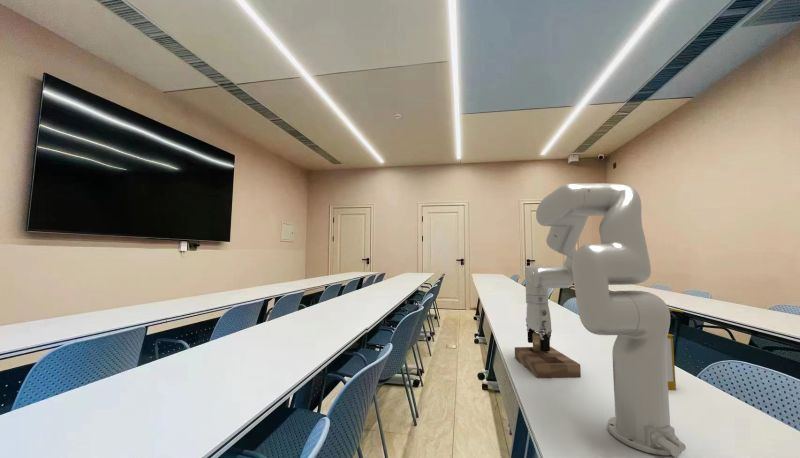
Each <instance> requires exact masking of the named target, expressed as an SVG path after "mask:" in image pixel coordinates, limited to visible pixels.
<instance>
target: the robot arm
mask: <svg viewBox="0 0 800 458" xmlns="http://www.w3.org/2000/svg"><path fill="white" fill-rule="evenodd" d="M594 216H595V217H600V216H603V217H602V219H601V221H600V224H599V228H598V231H599V237H600V243H588V244H583V245H582V246H580V247H578V248H577V249H576V245H577V244H578V242H579V239H580V238H581V237H580V236H581V234H582V232H583V230H584V227H585V226H586V223H587V220H588V218H589V217H594ZM535 217H536V218H535V219H536V221H537V223H538V224H539V225H540V226H543V227H550V228H549V231H548V234H547V237H546V239H545V241H546V245H547V246H548V247H549V249H551V250H553V251H554V252H556V253H559V254H561V255H564V256H565V257H566V258H565V260H564V263H563V265H548V266H547V265H546V266H545V265H527V266H526V267H525V269H524V272H525V273H524V278H525V303H526V318H525V322H526V324H525V326H526V333H527V342H528V344H533V335H532V334H533V333H539V334H540V337H541V339H540V350H541V351H542V352H543V351H550V347H551V342H550V341H551V336H552V331H553V330H552V318H551V312H550V306H549V292H548V291H549V290H548V289H567V288H570V287H572V285H573V284H574V286H573V287H574V292H575V299H576V307H577V310H578V311H577V312H578V316H579V320H580V321H581V324H582V325H583V327H584V328H585V329H586V330H587V331H588V332H590V333H591V334H593V335H596V336H616V338H615V341H614V343H613V346H612V355H611V356H612V374H613V375H612V376H613V377H612V379H613V397H614V398H613V399H614V416H613V417H611V418H609V419H608V420H607V422H606V423H607V430H608V431H609V433H610V434H611V435H612V436H613V437H614V438H615V439H617V440H618V441H620V442H621V443H623V444H625V445H627V446H630V447H631V448H634V449H635V450H638V451H642V452H644V453H648V454H651V455H658V456H673V457H675V458H677V457H679V456H680V454H681V452H682V451H685V450H686V444H685V443H683V442H682V441H681V440H680V438H679V437H678V436H677V435H676V434H675V433H676V431H675V427H673V426H671V416H670V400H669V390H668V379H667V356H666V346H667V337H668V334H669V331H670V326H671V310H669V309H670V308H669V306H668V305H667V303H666V302H665V301H664V300H663V298H661V297H659V296H658V295H657V294H654V293H652V292H650V291H643V290H614V291H613V290H610V289H609V285H610V286H618V285H619V286H620V285H621V286H623V285H624V286H625V285H626V286H627V285H637V284H638V285H639V284H642V283H644V282H646V281H648V280H649V278H650V277H651V273H652V266H651V261H650V260H651V259H650V255H649V251H648V246H647V242H646V236H645V233H644V232H645V231H644V228H643V223H642V199H641V196H640V194H639V192H638V191H637V189H635V188H634V187H632V186H630V185H628V184H622V183H600V182H599V183H595V182H594V183H575V182H574V183H566V184H563V185H561V186H559V187H558V188H556V189H555V190H554V191H551V193H549V194H547V196H545V197H544V198H542V200H541V201H540V202H539V204H538V206H537V208H536V210H535ZM543 334H544V336H543Z"/></svg>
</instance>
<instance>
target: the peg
mask: <svg viewBox="0 0 800 458" xmlns="http://www.w3.org/2000/svg"><path fill="white" fill-rule="evenodd" d="M544 334H545V333H544ZM544 334H543V336H544ZM532 335H533V343H532V347H533V351H534V353H535V354H542V353H546V351H543V352H542V351H541V350H540V339H541V337H540V334H539V333H538V332H536V333H533V334H532Z"/></svg>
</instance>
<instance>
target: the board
mask: <svg viewBox="0 0 800 458" xmlns="http://www.w3.org/2000/svg"><path fill="white" fill-rule="evenodd" d="M514 359H516V360H517V361H518V362H519V363H520V364H521V365H522V366H523V367H524V368H526V370H528V371H529V372H530V373H532V374H533V376H535V377H536V378H537V379H553V378H554V379H561V378H562V379H565V378H566V379H567V378H575V379H576V378H581V376H582V374H581V371H582V369H581V364H580V363H579V362H577V361H575V360H573V359H572V358H570V357H569V356H567V355H565V354H564V353H563V352H560V351H559V350H557V349H555V348H554V347H552V346H550V351H546V353H542V354H535V353H534V351H533V346H515V347H514Z"/></svg>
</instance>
